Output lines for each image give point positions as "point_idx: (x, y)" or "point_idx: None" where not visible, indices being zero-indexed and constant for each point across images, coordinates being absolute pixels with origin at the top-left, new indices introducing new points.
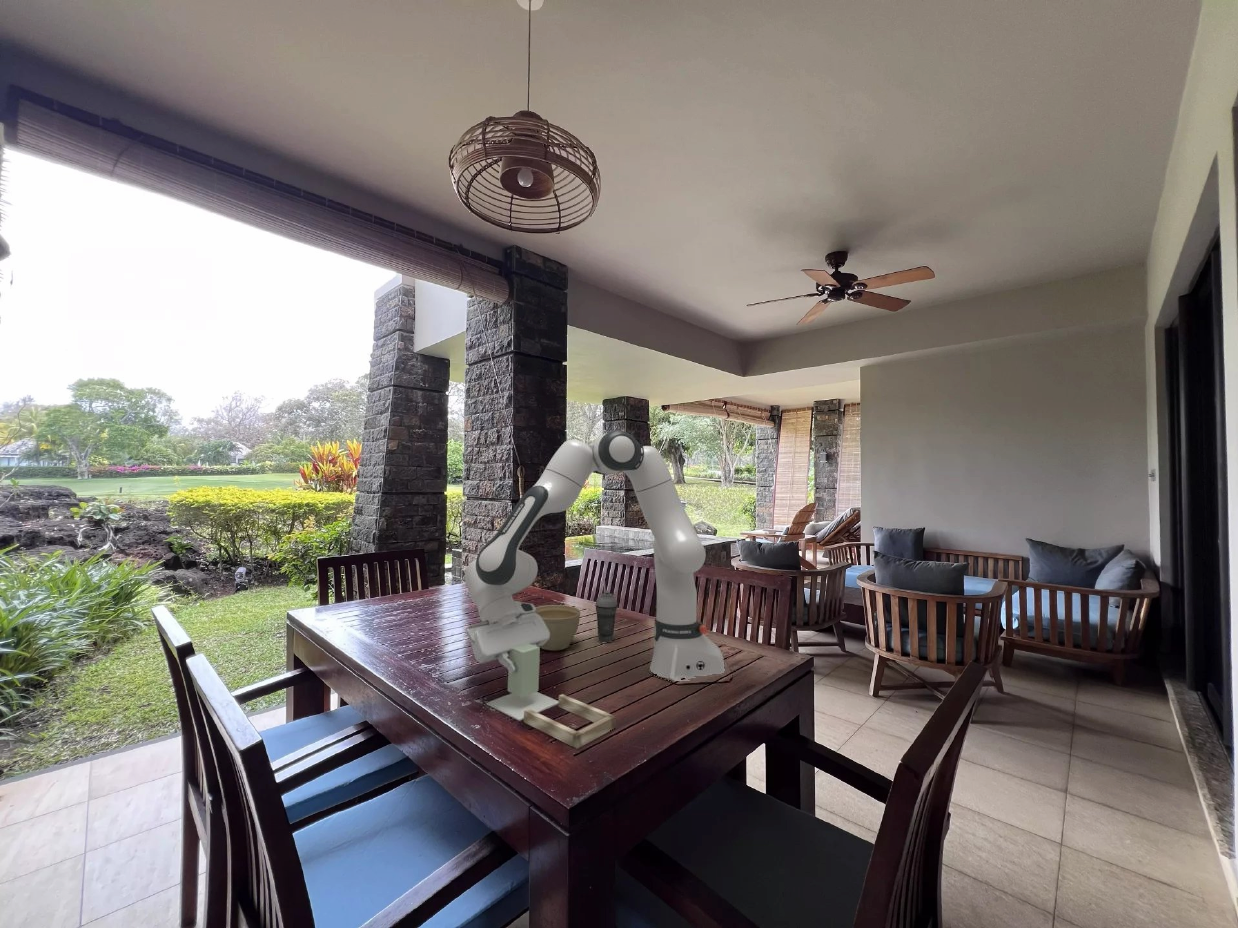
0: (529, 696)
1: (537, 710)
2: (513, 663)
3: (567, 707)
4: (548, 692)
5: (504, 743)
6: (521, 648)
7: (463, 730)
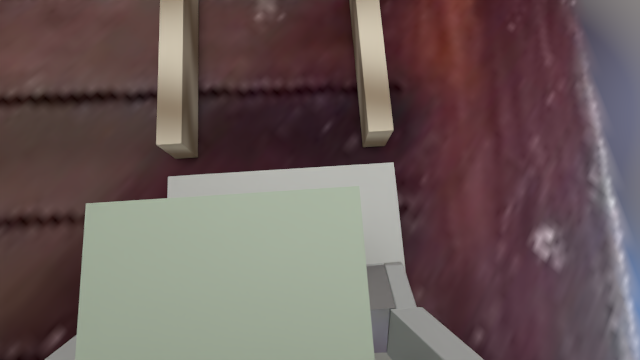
0: None
1: (290, 177)
2: (385, 301)
3: (193, 102)
4: None
5: (520, 67)
6: (280, 333)
7: (603, 248)
